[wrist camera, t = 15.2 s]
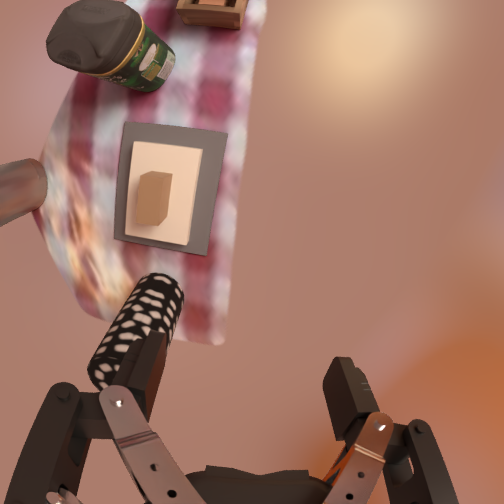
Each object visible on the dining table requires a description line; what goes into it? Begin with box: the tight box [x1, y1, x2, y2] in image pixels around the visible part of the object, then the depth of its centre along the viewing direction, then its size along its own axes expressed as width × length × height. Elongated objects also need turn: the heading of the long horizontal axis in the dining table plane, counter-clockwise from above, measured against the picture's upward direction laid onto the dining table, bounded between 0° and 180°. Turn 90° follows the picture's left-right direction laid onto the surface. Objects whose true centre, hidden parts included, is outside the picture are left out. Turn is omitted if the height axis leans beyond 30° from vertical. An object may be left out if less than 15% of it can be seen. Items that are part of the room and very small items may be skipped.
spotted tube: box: [87, 273, 184, 392], centre depth 37 cm, size 8×8×20 cm
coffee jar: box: [46, 0, 175, 92], centre depth 24 cm, size 10×8×19 cm
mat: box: [114, 122, 228, 256], centre depth 39 cm, size 18×15×1 cm
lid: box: [125, 141, 203, 245], centre depth 36 cm, size 13×9×6 cm
